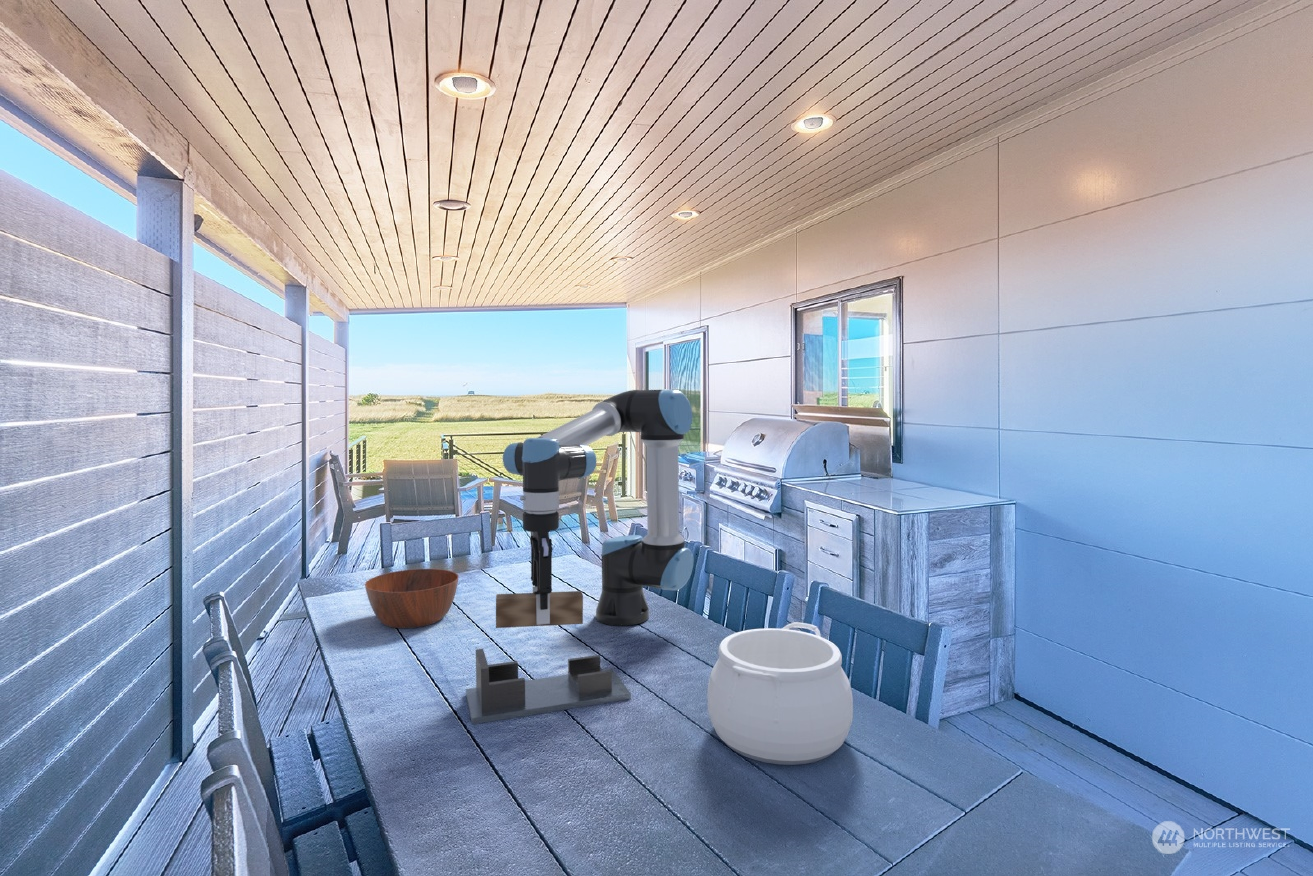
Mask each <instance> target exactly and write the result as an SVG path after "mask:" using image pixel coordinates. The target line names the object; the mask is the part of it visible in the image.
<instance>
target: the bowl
mask: <svg viewBox="0 0 1313 876" xmlns="http://www.w3.org/2000/svg"><path fill="white" fill-rule="evenodd" d="M459 579H460V577H459V573H456V572H455V571H452V570H448V569H440V568H413V569H405V570H397V571H392V572H391V571H390V572H387V573H384V574H383V573H382V574H379V575H377V576H374V577H372V578H370V579H368V580H367V581H366V582H365V583H364V588H365V592H366V596H367V599H368V601H369V604H370V607H371V609H372V611H373V613H374V614H375V617H376V618H377V619H378V621H379V622H380V623H381V624H383V625H385V626H386V627H389V628H393V629H394V628H395V629H412V628H413V629H414V628H421V627H425V626H429V625H432V624H435V623H437V622H439V621H441V620H442V619H443V618H445V616H447V614H448V612H449V611H450V610H451V608H452V605H453V603H454V600H455V596H456V593H457V588H458V584H459V583H458V582H459Z"/></svg>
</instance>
